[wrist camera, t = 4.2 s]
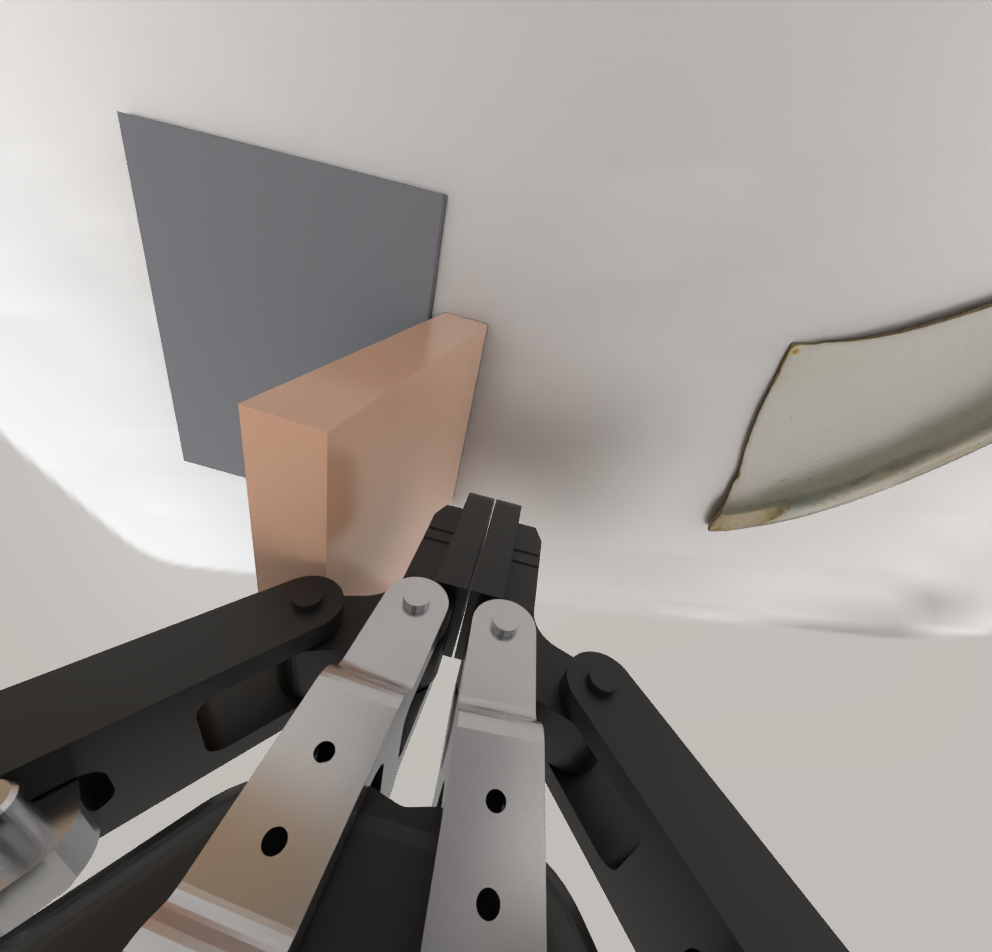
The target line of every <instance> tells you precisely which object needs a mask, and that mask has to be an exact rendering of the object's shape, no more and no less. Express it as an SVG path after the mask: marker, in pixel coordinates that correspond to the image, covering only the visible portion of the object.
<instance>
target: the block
mask: <svg viewBox="0 0 992 952" xmlns="http://www.w3.org/2000/svg"><path fill="white" fill-rule="evenodd" d="M487 326H488V324H485V323H482V322H478V321H474V320H471V319H467V318H464V317H460V316H457V315H453V314H450V313H446V312H445V313H443V314H441V315H438V316H436V317H434V318H432V319H429V320H427V321H425V322H423V323H420V324H418V325H416V326H413V327H411V328H409V329H407V330H404V331H402V332H400V333H398V334H395V335H393V336H391V337H388V338H386V339H384V340H382V341H379V342H377V343H375V344H373V345H370V346H368V347H366V348H363V349H361V350H359V351H357V352H354V353H352V354H350V355H348V356H345V357H343V358H341V359H338V360H336V361H334V362H332V363H329V364H327V365H325V366H323V367H320V368H318V369H316V370H313V371H311V372H309V373H307V374H304V375H302V376H300V377H298V378H295V379H293V380H291V381H289V382H286V383H284V384H282V385H279V386H277V387H275V388H273V389H270V390H268V391H266V392H264V393H261V394H259V395H257V396H254V397H252V398H250V399H248V400H245V401H243V402H241V403H239V404H238V408H239V417H240V426H241V436H242V445H243V454H244V464H245V473H246V482H247V492H248V501H249V510H250V519H251V529H252V538H253V547H254V557H255V566H256V575H257V585H258V592H261V591H264V590H266V589H269V588H272V587H274V586H277V585H279V584H282V583H285V582H287V581H290V580H293V579H296V578H299V577H303V576H322V577H326V578H329V579H331V580H333V581H335V582H336V583H337V584H338V585H339V586H340V587H341V589H342V591H343V594H344V596H367V595H376V594H380V593H383V592H386V591H387V589H388V588H389V587H390V586H391V585H392V584H393V583H395V582H397V581H399V580H401V579H403V577H404V575H405V573H406V571H407V569H408V567H409V565H410V563H411V561H412V559H413V557H414V555H415V553H416V551H417V549H418V547H419V545H420V543H421V541H422V539H423V537H424V534H425V532H426V530H427V528H428V527H429V524H430V522H431V520H432V518H433V516H434V514H435V513H436V512H438V511H439V510H441V509H442V508H443V507H445V506H446V505H450V506H451V504H452V501H453V496H454V491H455V486H456V481H457V476H458V471H459V466H460V461H461V456H462V451H463V446H464V441H465V436H466V431H467V426H468V421H469V416H470V411H471V406H472V401H473V396H474V391H475V386H476V381H477V376H478V371H479V366H480V361H481V356H482V351H483V346H484V341H485V336H486V331H487Z"/></svg>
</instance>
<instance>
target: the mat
mask: <svg viewBox="0 0 992 952" xmlns="http://www.w3.org/2000/svg"><path fill="white" fill-rule="evenodd" d="M117 113H118V118H119V123H120V128H121V134H122V139H123V144H124V149H125V154H126V160H127V165H128V170H129V175H130V180H131V186H132V191H133V196H134V201H135V207H136V212H137V217H138V222H139V227H140V233H141V238H142V243H143V248H144V253H145V259H146V264H147V269H148V274H149V280H150V285H151V290H152V295H153V300H154V306H155V311H156V316H157V321H158V326H159V332H160V337H161V342H162V347H163V352H164V358H165V363H166V368H167V373H168V379H169V384H170V389H171V394H172V399H173V405H174V410H175V415H176V420H177V425H178V431H179V436H180V441H181V446H182V452H183V457H184V461H188V462H191V463H195V464H198V465H202V466H206V467H209V468H213V469H216V470H220V471H224V472H227V473H231V474H235V475H238V476H242V477H245V478H246V473H245V464H244V454H243V445H242V436H241V426H240V417H239V408H238V404H239V403H241V402H243V401H245V400H248V399H250V398H252V397H254V396H257V395H259V394H261V393H264V392H266V391H268V390H270V389H273V388H275V387H277V386H279V385H282V384H284V383H286V382H289V381H291V380H293V379H295V378H298V377H300V376H302V375H304V374H307V373H309V372H311V371H313V370H316V369H318V368H320V367H323V366H325V365H327V364H329V363H332V362H334V361H336V360H338V359H341V358H343V357H345V356H348V355H350V354H352V353H354V352H357V351H359V350H361V349H363V348H366V347H368V346H370V345H373V344H375V343H377V342H379V341H382V340H384V339H386V338H388V337H391V336H393V335H395V334H398V333H400V332H402V331H404V330H407V329H409V328H411V327H413V326H416V325H418V324H420V323H423V322H425V321H427V320H429V319H431V312H432V304H433V296H434V289H435V281H436V273H437V266H438V258H439V250H440V243H441V235H442V227H443V220H444V212H445V204H446V197H447V195H444V194H440V193H436V192H432V191H428V190H424V189H420V188H416V187H412V186H408V185H404V184H400V183H397V182H393V181H389V180H385V179H381V178H377V177H373V176H369V175H365V174H361V173H357V172H353V171H349V170H346V169H342V168H338V167H334V166H330V165H326V164H322V163H318V162H314V161H310V160H306V159H302V158H298V157H295V156H291V155H287V154H283V153H279V152H275V151H271V150H267V149H263V148H259V147H255V146H251V145H248V144H244V143H240V142H236V141H232V140H228V139H224V138H220V137H216V136H212V135H208V134H204V133H200V132H197V131H193V130H189V129H185V128H181V127H177V126H173V125H169V124H165V123H161V122H157V121H153V120H149V119H146V118H142V117H138V116H134V115H130V114H126V113H122V112H118V111H117Z"/></svg>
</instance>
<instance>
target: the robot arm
mask: <svg viewBox="0 0 992 952" xmlns="http://www.w3.org/2000/svg"><path fill="white" fill-rule="evenodd" d="M494 500H495V499H493V498H489V497H485V496H482V495H478V494H474V493H469V496H468V498H467V501H466V503H465V506H464V508H463V509H461V508H457V507H454V506H450V505H446V506H445V507H443V508H442V509H441V510H439V511H438V512H436V513H435V514H434V516H433V518H432V520H431V522H430V524H429V527H428V528H427V530H426V532H425V534H424V537H423V539H422V541H421V543H420V545H419V547H418V549H417V551H416V553H415V555H414V557H413V559H412V561H411V563H410V565H409V567H408V569H407V571H406V573H405V575H404V577H403V579H401V580H399V581H397V582H395V583H393V584H392V585H391V586H390V587H389V588H388V589H387V591H386V592H383V593H380V594H376V595H367V596H344V594H343V591H342V589H341V587H340V586H339V585H338V584H337V583H336V582H335V581H333V580H331V579H329V578H326V577H322V576H303V577H299V578H296V579H293V580H290V581H287V582H285V583H282V584H279V585H277V586H274V587H272V588H269V589H266V590H264V591H261V592H258V593H256V594H254V595H250V596H248V597H245V598H243V599H240V600H237V601H235V602H232V603H229V604H227V605H224V606H221V607H219V608H216V609H214V610H211V611H208V612H206V613H203V614H201V615H198V616H196V617H193V618H190V619H187V620H185V621H182V622H179V623H177V624H174V625H171V626H169V627H166V628H164V629H161V630H158V631H156V632H153V633H150V634H148V635H145V636H143V637H140V638H137V639H135V640H132V641H129V642H127V643H124V644H121V645H119V646H116V647H114V648H111V649H108V650H106V651H103V652H101V653H98V654H95V655H92V656H90V657H88V658H85V659H82V660H79V661H77V662H74V663H72V664H69V665H66V666H64V667H61V668H58V669H56V670H53V671H50V672H48V673H45V674H42V675H40V676H37V677H35V678H32V679H29V680H27V681H24V682H21V683H19V684H16V685H14V686H11V687H8V688H6V689H3V690H0V952H598V951H597V949H596V947H595V944H594V942H593V940H592V938H591V936H590V933H589V931H588V929H587V927H586V925H585V922H584V920H583V918H582V916H581V914H580V912H579V910H578V908H577V906H576V904H575V902H574V901H573V899H572V897H571V895H570V893H569V892H568V890H567V888H566V887H565V885H564V884H563V882H562V881H561V880H560V878H559V877H558V876H557V874H556V873H555V872H554V870H553V869H552V868H551V867H550V866H549V865H548V864H547V863H546V842H545V841H546V838H545V782H546V784H547V786H548V788H549V789H550V791H551V793H552V795H553V797H554V799H555V800H556V803H557V805H558V806H559V808H560V810H561V812H562V814H563V816H564V818H565V820H566V821H567V823H568V825H569V827H570V829H571V831H572V833H573V835H574V836H575V838H576V840H577V842H578V844H579V846H580V848H581V849H582V851H583V853H584V855H585V857H586V859H587V861H588V863H589V865H590V867H591V868H592V870H593V872H594V874H595V876H596V878H597V880H598V881H599V883H600V885H601V887H602V889H603V891H604V893H605V895H606V896H607V898H608V900H609V902H610V904H611V906H612V908H613V910H614V912H615V913H616V915H617V917H618V919H619V921H620V923H621V925H622V927H623V928H624V930H625V932H626V934H627V936H628V938H629V940H630V942H631V943H632V945H633V947H634V949H635V951H636V952H849V951H848V949H847V948H846V947H845V946H844V945H843V943H842V942H841V941H840V939H839V938H838V937H837V936H836V934H835V933H834V932H833V931H832V929H831V928H830V927H829V926H828V924H827V923H826V922H825V921H824V919H823V918H822V917H821V915H820V914H819V913H818V912H817V911H816V909H815V908H814V907H813V905H812V904H811V903H810V902H809V900H808V899H807V898H806V897H805V895H804V894H803V893H802V892H801V890H800V889H799V888H798V887H797V885H796V884H795V883H794V882H793V880H792V879H791V878H790V876H789V875H788V874H787V873H786V871H785V870H784V869H783V868H782V866H781V865H780V864H779V863H778V862H777V860H776V859H775V858H774V857H773V855H772V854H771V853H770V851H769V850H768V849H767V848H766V846H765V845H764V844H763V842H762V841H761V840H760V839H759V837H758V836H757V835H756V834H755V832H754V831H753V830H752V829H751V828H750V826H749V825H748V824H747V822H746V821H745V820H744V819H743V817H742V816H741V815H740V814H739V812H738V811H737V810H736V809H735V807H734V806H733V805H732V803H730V801H729V800H728V798H727V797H726V796H725V795H724V793H723V792H722V791H721V790H720V789H719V787H718V786H717V785H716V783H715V782H714V781H713V780H712V778H711V777H710V776H709V775H708V773H707V772H706V771H705V769H703V767H702V766H701V765H700V763H699V762H698V761H697V760H696V758H695V757H694V756H693V754H692V753H691V752H690V751H689V749H688V748H687V747H686V746H685V745H684V743H683V742H682V741H681V739H680V738H679V737H678V736H677V734H676V733H675V732H674V730H673V729H672V728H671V727H670V725H669V724H668V723H667V722H666V720H665V719H664V718H663V717H662V715H661V714H660V713H659V712H658V710H657V709H656V708H655V707H654V705H653V704H652V703H651V702H650V700H649V699H648V698H647V697H646V695H645V694H644V693H643V691H642V690H641V689H640V688H639V687H638V685H637V684H636V683H635V681H634V680H633V679H632V678H631V677H630V675H629V674H628V673H627V671H626V670H625V669H624V668H623V667H622V666H621V665H620V664H619V663H618V662H616V661H615V660H614V659H612V658H610V657H609V656H607V655H604V654H601V653H598V652H583V653H580V654H578V655H576V656H575V657H572V656H570V655H569V654H567V653H565V652H564V651H562V650H560V649H559V648H557V647H555V646H554V645H552V644H551V643H550V642H549V641H548V640H546V638H545V637H544V636H543V635H542V634H541V632H540V631H539V629H538V627H537V626H536V623H535V619H534V606H535V596H536V587H537V578H538V567H539V560H540V558H539V557H540V550H541V539H540V537H539V535H538V533H537V530H536V528H534V527H530V526H526V525H522V524H519V523H518V522H519V517H520V511H521V506H520V505H516V504H513V503H509V502H505V501H501V500H496V504H495V507H494V511H493V514H492V518H491V521H490V517H491V513H492V508H493V504H494ZM489 521H490V525H489ZM488 525H489V528H488ZM487 529H488V532H487ZM486 533H487V535H486ZM485 537H486V538H485ZM484 541H485V542H484ZM468 598H469V599H468ZM467 602H468V603H467ZM466 605H467V607H466ZM465 609H466V611H465ZM464 612H465V615H464ZM463 616H464V619H463ZM462 619H463V623H462V628H461V632H460V636H459V640H458V644H457V649H456V652H455V658H457V659H460V660H462V661H461V665H460V669H459V673H458V676H457V681H456V684H455V689H454V692H453V698H452V703H451V709H450V715H449V720H448V726H447V731H446V736H445V743H444V748H443V754H442V759H441V764H440V770H439V775H438V780H437V786H436V790H435V794H434V799H433V804H432V807H403V806H400V805H399V804H397V803H395V802H394V801H392V800H391V799H389V797H390V794H391V791H392V788H393V785H394V781H395V778H396V775H397V772H398V769H399V766H400V763H401V761H402V758H403V756H404V753H405V751H406V748H407V746H408V743H409V741H410V738H411V736H412V733H413V731H414V728H415V726H416V723H417V721H418V718H419V716H420V714H421V711H422V708H423V706H424V704H425V701H426V699H427V696H428V693H429V691H430V689H431V686H432V683H433V680H434V678H435V677H436V674H437V672H438V669H439V665H440V662H441V659H442V656H443V655H445V656H449V657H452V654H453V650H454V647H455V643H456V640H457V636H458V633H459V629H460V626H461V622H462ZM281 730H282V731H281ZM279 731H281V733H280V734H279V736H278V738H277V739H276V740H275V742H274V743H273V745H272V746H271V748H270V749H269V751H268V752H267V754H266V755H265V757H264V758H263V760H262V761H261V763H260V764H259V766H258V767H257V769H256V770H255V772H254V773H253V775H252V776H251V778H250V779H249V781H247V782H244V783H242V784H239V785H237V786H234V787H232V788H229V789H227V790H225V791H224V792H222V793H220V794H218V795H216V796H214V797H212V798H210V799H209V800H207V801H206V802H204V803H202V804H201V805H199V806H198V807H196V808H195V809H193V810H192V811H190V812H189V813H187V814H186V815H184V816H183V817H181V818H180V819H178V820H177V821H175V822H174V823H172V824H171V825H169V826H168V827H166V828H165V829H163V830H162V831H160V832H159V833H157V834H156V835H154V836H153V837H151V838H150V839H148V840H147V841H145V842H144V843H142V844H141V845H139V846H138V847H136V848H135V849H133V850H132V851H130V852H128V853H127V854H125V855H124V856H122V857H121V858H119V859H118V860H116V861H115V862H113V863H112V864H111V865H109V866H107V867H106V868H104V869H103V870H101V871H100V872H98V873H97V874H96V875H94V876H92V877H91V878H89V879H88V880H86V881H85V882H83V883H82V884H80V885H79V886H77V887H76V888H74V889H73V890H71V891H70V892H68V893H67V894H65V895H64V896H63V897H61V898H59V899H58V900H56V901H55V902H53V903H52V904H50V905H49V906H47V907H46V908H44V909H42V910H41V911H39V910H40V909H41V908H43V907H44V906H45V905H47V904H48V903H49V902H51V901H52V900H53V899H55V898H56V897H58V896H59V895H61V894H62V893H63V892H65V891H66V890H67V889H68V888H69V887H70V886H71V885H72V883H73V882H74V880H75V879H76V878H77V877H78V875H79V874H80V873H81V872H82V870H83V869H84V868H85V866H86V865H87V863H88V861H89V860H90V858H91V857H92V855H93V852H94V850H95V848H96V846H97V843H98V840H99V838H100V837H102V836H104V835H105V834H107V833H109V832H110V831H112V830H114V829H116V828H117V827H119V826H120V825H122V824H124V823H126V822H127V821H129V820H131V819H132V818H134V817H136V816H138V815H139V814H141V813H143V812H144V811H146V810H148V809H149V808H151V807H153V806H154V805H156V804H158V803H159V802H161V801H163V800H165V799H166V798H168V797H170V796H171V795H173V794H174V793H176V792H178V791H180V790H181V789H183V788H185V787H187V786H188V785H190V784H192V783H193V782H195V781H197V780H198V779H200V778H201V777H203V776H205V775H207V774H208V773H210V772H211V771H213V770H215V769H217V768H218V767H220V766H222V765H224V764H225V763H227V762H228V761H230V760H232V759H234V758H236V757H237V756H239V755H240V754H242V753H244V752H246V751H247V750H249V749H251V748H252V747H254V746H256V745H257V744H259V743H261V742H262V741H264V740H266V739H268V738H269V737H271V736H273V735H274V734H276V733H278V732H279ZM37 911H39V912H38V913H36V912H37ZM35 913H36V914H35ZM34 914H35V915H34ZM32 915H33V916H32ZM31 916H32V917H31Z"/></svg>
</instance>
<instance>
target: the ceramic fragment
mask: <svg viewBox="0 0 992 952" xmlns="http://www.w3.org/2000/svg"><path fill="white" fill-rule="evenodd" d="M991 443H992V302H991V303H985V304H983V305H981V306H979V307H977V308H974V309H972V310H969V311H966V312H963V313H959V314H956V315H953V316H950V317H946V318H943V319H937V320H933V321H931V322H928V323H925V324H921V325H917V326H913V327H909V328H905V329H901V330H895V331H892V332H886V333H882V334H878V335H872V336H869V337H864V338H857V339H850V340H843V341H835V342H822V343H791V346H790V348H789V349H788V351H787V353H786V354H785V357H784V359H783V361H782V362H781V365H780V367H779V369H778V371H777V373H776V375H775V378H774V380H773V382H772V384H771V386H770V388H769V390H768V393H767V395H766V397H765V399H764V402H763V404H762V406H761V409H760V411H759V414H758V416H757V418H756V421H755V424H754V425H753V429H752V431H751V434H750V437H749V441H748V444H747V446H746V449H745V452H744V457H743V460H742V464H741V466H740V469H739V472H738V475H737V477H736V479H735V481H734V483H733V485H732V488H731V490H730V492H729V495H728V497H727V499H726V501H725V503H724V505H723V506H722V508H721V509H720V510H719V511H718V512H717V514H716V515H715V516H714V517H713V518H712V519H711V521H710V523H709V525H708V531H729V530H736V529H743V528H749V527H755V526H762V525H767V524H773V523H777V522H782V521H786V520H791V519H795V518H799V517H803V516H806V515H810V514H814V513H817V512H820V511H824V510H827V509H830V508H834V507H837V506H840V505H843V504H846V503H849V502H852V501H854V500H857V499H860V498H863V497H866V496H869V495H871V494H874V493H877V492H879V491H882V490H885V489H887V488H890V487H892V486H895V485H897V484H900V483H903V482H905V481H908V480H910V479H912V478H915V477H917V476H920V475H922V474H924V473H927V472H929V471H931V470H934V469H936V468H939V467H941V466H943V465H945V464H948V463H950V462H952V461H954V460H956V459H959V458H961V457H963V456H965V455H968V454H970V453H972V452H974V451H976V450H978V449H980V448H982V447H985V446H987V445H989V444H991Z"/></svg>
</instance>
